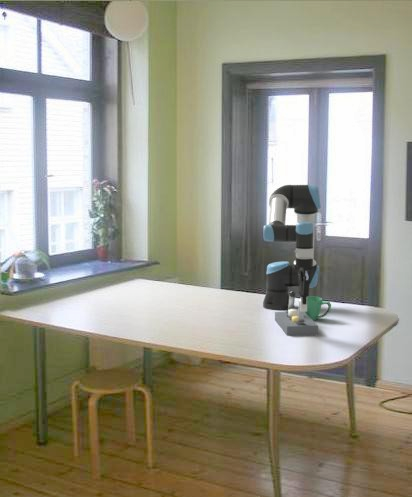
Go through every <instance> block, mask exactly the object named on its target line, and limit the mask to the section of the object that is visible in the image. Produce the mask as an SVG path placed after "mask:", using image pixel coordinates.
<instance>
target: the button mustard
mask: <svg viewBox="0 0 412 497" xmlns="http://www.w3.org/2000/svg"><path fill="white" fill-rule="evenodd" d="M292 322H298V316H292Z"/></svg>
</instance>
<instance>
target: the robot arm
mask: <svg viewBox="0 0 412 497" xmlns="http://www.w3.org/2000/svg"><path fill="white" fill-rule="evenodd" d="M320 196H321V195H320V190H319V187H318V185H316V184H315V185H314V184H286V185H282V186H280V187H278V188H276V189H275V190H274V191H273V192H272V193H271V195H270V197H269V201H268V206H269V209H270V210H269V220H268V224H265V225H263V233H262V234H263V235H262V236H263V240H264V241H265V242H271V243H273V242H275V243H276V242H277V243H279V242H280V243H281V242H284V243H285V242H286V243H287V242H288V243H295V250H294V253H295V257H296V258H295V260H294V261H293V264H290V262H289V261H284V260H283V261H275V262H271V263H269V264H268V265H267V266H266V272H265V274H266V290H265V291H266V292H265V295H264V297H263V301H262V306H263V308H265V309H269V310H277V311H278V310H288V305H289V293H290V288H298V293H299V297H300V299H299V300H300V311H301V312H307V297H310V294H309V293H310V288H311V289H312V288H315V287H317V284H318V282H319V281H318V280H319V275H320V274H319V273H320V265H318V264H317V261H316V260H315V259H314V258H315V257H314V252H315V251H314V250H315V246H314V245H315V216H316V214H317V213H318V212H319V210H320V209H322V207H321V206H322V205H321V197H320ZM287 209H293V212H294V214H296V223H295V224H291V225H290V224H286V219H287V218H286V216H287Z"/></svg>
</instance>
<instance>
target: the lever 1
mask: <svg viewBox="0 0 412 497" xmlns="http://www.w3.org/2000/svg"><path fill="white" fill-rule="evenodd" d="M296 294H297V293H296V292H295V291H294V290H291V291H289V305H288V309H287V311H288V310H289V309H295V299H296Z"/></svg>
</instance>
